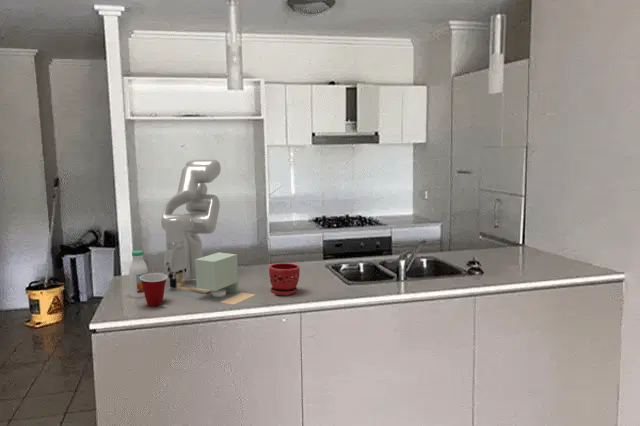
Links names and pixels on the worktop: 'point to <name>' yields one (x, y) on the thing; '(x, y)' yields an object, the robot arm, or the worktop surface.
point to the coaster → (219, 293)
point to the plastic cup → (153, 288)
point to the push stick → (181, 286)
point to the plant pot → (284, 278)
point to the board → (198, 295)
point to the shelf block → (217, 272)
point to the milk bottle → (137, 274)
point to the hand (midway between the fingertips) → (177, 285)
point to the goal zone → (237, 298)
